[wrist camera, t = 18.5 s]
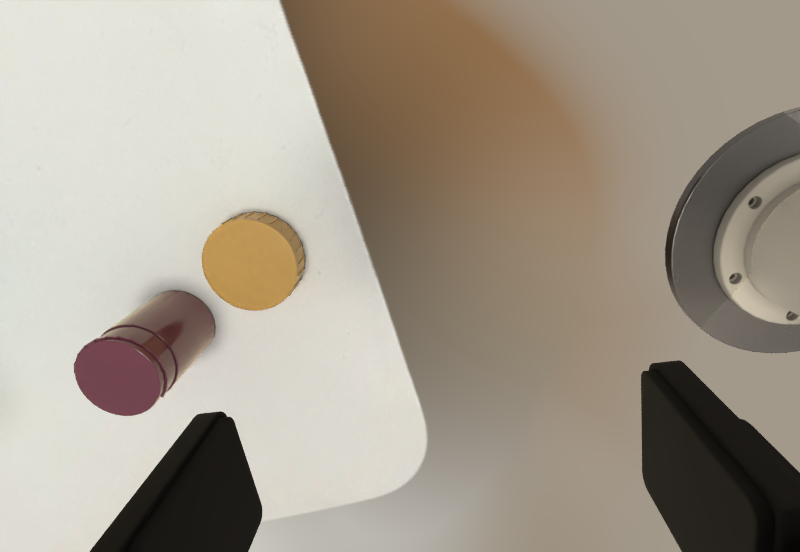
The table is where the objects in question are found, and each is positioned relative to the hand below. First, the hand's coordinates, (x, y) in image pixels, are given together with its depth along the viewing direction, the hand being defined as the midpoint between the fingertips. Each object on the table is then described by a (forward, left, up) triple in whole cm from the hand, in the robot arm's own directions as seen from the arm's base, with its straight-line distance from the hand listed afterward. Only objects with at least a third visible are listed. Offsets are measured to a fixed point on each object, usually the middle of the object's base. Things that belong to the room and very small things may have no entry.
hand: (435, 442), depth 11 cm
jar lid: (+9, +8, -22) cm, 25 cm away
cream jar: (+12, +17, -23) cm, 31 cm away
